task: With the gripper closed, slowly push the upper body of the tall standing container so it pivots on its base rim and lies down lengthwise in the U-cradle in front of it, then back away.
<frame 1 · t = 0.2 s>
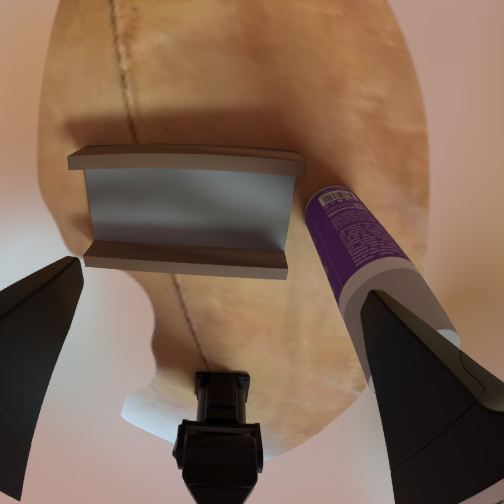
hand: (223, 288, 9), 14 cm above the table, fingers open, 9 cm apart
cradle: (184, 202, 22), on the table
container: (332, 211, 23), on the table
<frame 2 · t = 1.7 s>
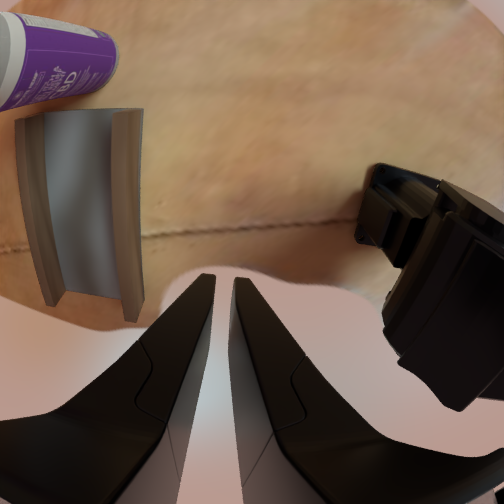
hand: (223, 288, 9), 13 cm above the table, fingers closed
cradle: (88, 212, 21), on the table
container: (90, 62, 15), on the table
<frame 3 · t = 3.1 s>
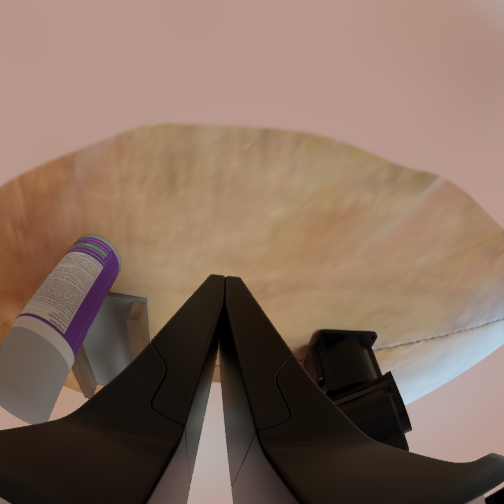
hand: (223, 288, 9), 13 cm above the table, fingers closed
cradle: (112, 347, 29), on the table
container: (97, 257, 24), on the table
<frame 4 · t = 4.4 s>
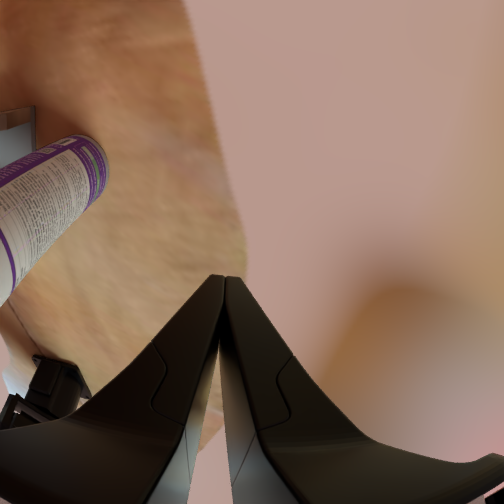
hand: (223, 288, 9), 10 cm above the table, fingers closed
container: (79, 168, 16), on the table
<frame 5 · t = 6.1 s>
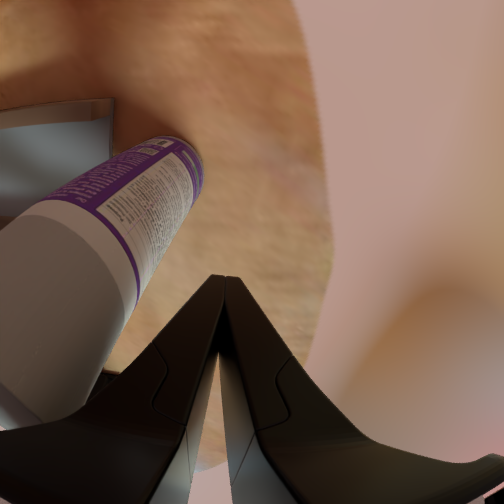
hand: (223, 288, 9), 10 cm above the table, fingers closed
cradle: (18, 169, 16), on the table
container: (166, 173, 17), on the table, touching gripper
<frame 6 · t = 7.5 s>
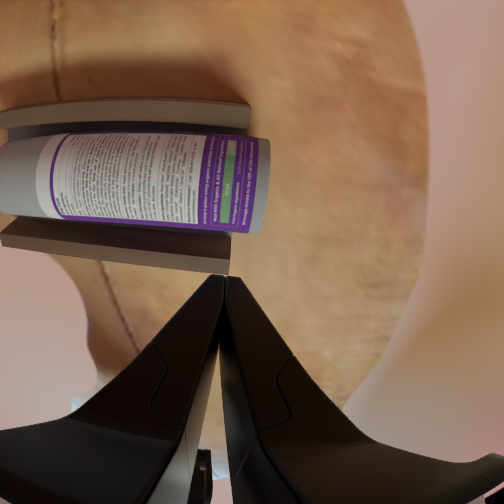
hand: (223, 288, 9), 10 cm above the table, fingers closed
cradle: (108, 170, 16), on the table
container: (266, 186, 14), point 3 cm above the table, touching cradle
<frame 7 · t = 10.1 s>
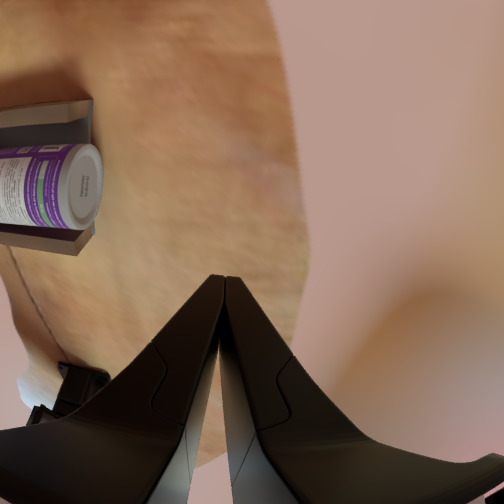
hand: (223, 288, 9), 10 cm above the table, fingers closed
cradle: (4, 168, 15), on the table
container: (90, 186, 14), point 3 cm above the table, touching cradle
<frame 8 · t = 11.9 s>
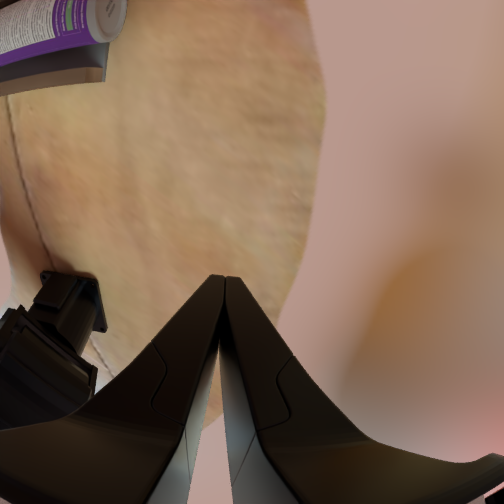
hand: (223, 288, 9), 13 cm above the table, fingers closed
cradle: (25, 38, 13), on the table
container: (115, 6, 11), point 3 cm above the table, touching cradle
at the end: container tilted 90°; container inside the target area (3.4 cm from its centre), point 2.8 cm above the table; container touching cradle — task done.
